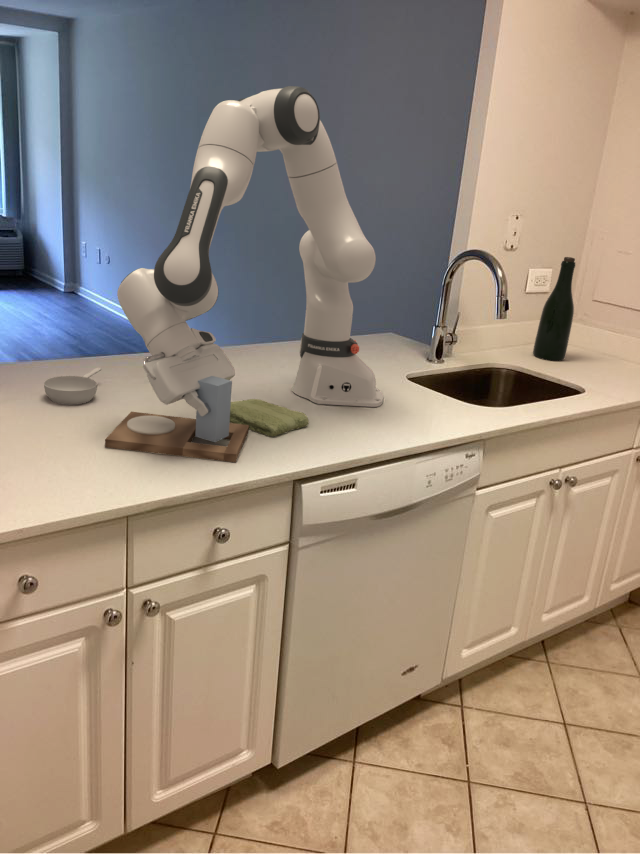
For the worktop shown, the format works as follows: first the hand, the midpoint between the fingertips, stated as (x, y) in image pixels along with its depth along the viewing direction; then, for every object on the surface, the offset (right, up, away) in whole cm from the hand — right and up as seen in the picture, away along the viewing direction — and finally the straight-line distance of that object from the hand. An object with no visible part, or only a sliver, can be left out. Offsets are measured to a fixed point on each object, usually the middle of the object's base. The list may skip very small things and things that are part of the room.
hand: (216, 410), depth 136 cm
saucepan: (-33, +4, +23) cm, 41 cm away
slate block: (-1, -5, +2) cm, 5 cm away
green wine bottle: (+96, +20, +107) cm, 145 cm away
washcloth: (+7, -2, +19) cm, 20 cm away
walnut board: (-7, -6, +4) cm, 10 cm away
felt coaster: (-13, -3, +4) cm, 14 cm away
